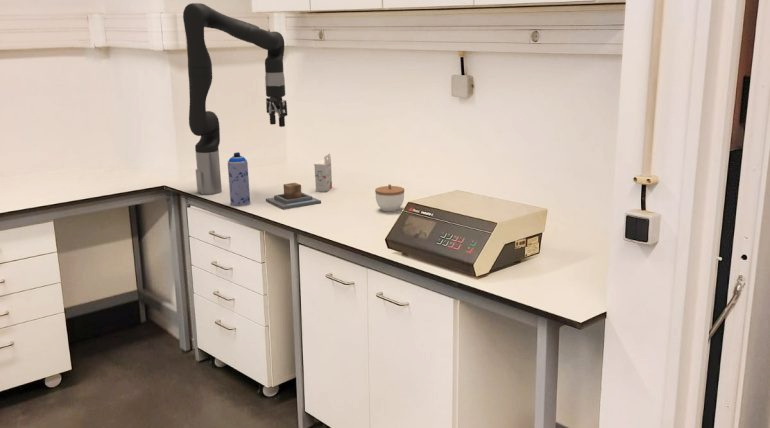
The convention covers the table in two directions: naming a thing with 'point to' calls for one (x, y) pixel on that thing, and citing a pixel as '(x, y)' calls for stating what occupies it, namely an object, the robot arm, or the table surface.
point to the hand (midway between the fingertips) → (277, 125)
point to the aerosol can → (238, 180)
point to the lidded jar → (389, 197)
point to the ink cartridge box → (323, 174)
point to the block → (292, 191)
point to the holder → (292, 201)
